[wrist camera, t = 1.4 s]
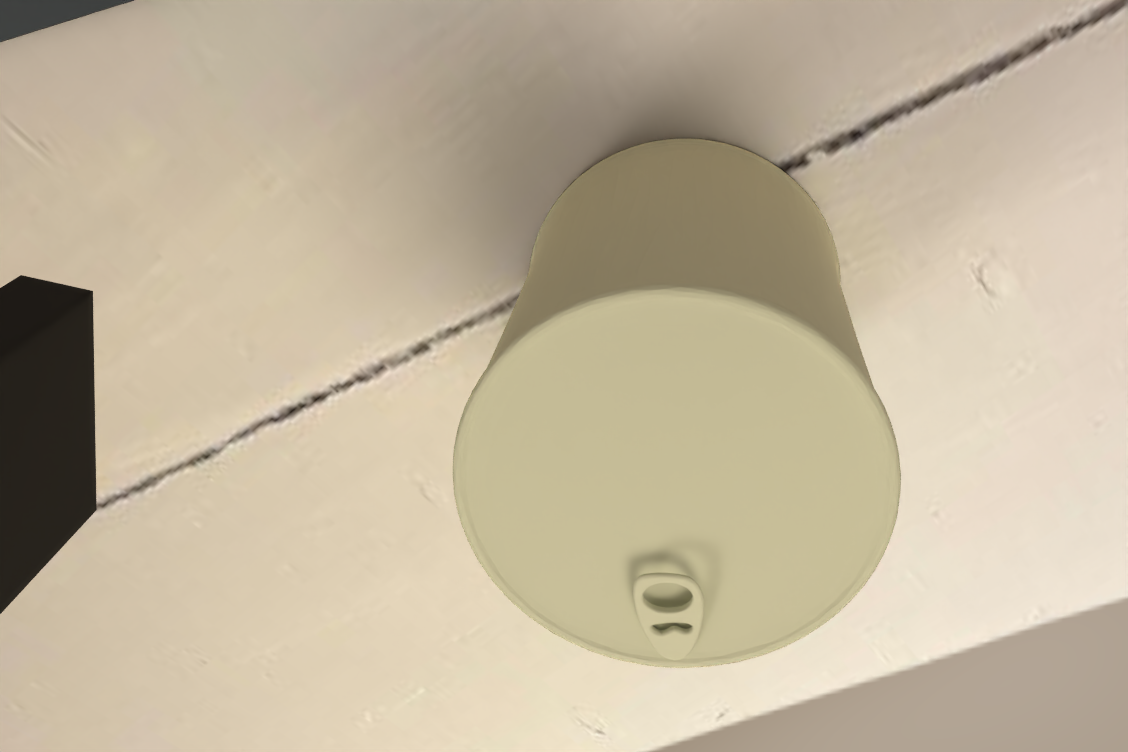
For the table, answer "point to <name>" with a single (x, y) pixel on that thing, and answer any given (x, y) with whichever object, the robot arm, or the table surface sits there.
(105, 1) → the mat
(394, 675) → the table surface
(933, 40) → the table surface
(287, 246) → the table surface
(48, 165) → the table surface
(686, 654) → the can
